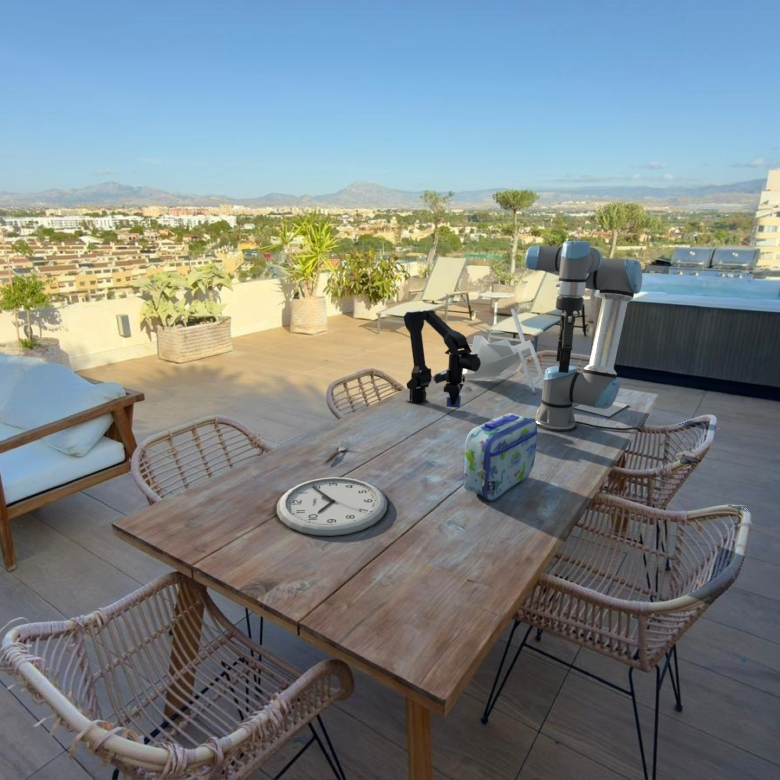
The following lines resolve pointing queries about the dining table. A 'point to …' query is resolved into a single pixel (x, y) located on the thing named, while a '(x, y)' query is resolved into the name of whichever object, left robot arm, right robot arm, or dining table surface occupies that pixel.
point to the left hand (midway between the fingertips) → (453, 403)
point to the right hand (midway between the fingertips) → (561, 366)
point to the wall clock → (331, 506)
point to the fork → (338, 451)
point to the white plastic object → (502, 356)
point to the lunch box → (499, 455)
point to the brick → (457, 403)
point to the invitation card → (606, 412)
